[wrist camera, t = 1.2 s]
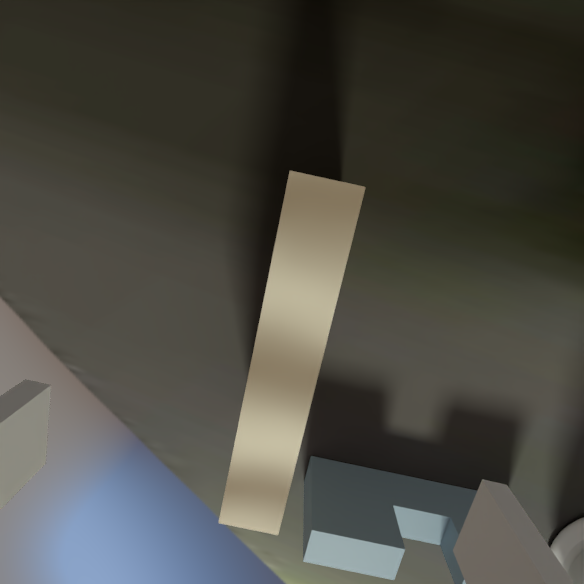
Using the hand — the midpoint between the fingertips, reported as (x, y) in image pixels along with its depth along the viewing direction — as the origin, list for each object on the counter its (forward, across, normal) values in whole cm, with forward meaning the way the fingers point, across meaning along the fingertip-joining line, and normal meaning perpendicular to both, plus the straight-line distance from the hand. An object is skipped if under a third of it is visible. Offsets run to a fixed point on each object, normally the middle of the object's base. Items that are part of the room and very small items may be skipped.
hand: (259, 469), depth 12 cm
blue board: (+17, +12, -13) cm, 24 cm away
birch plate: (+17, 0, 0) cm, 17 cm away
